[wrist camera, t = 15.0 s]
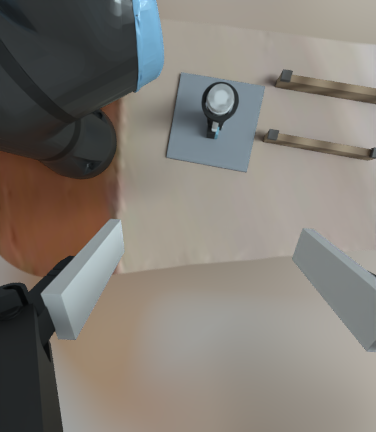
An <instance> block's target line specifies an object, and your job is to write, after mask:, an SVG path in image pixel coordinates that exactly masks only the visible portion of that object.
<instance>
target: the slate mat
mask: <svg viewBox="0 0 376 432" xmlns="http://www.w3.org/2000/svg"><path fill="white" fill-rule="evenodd" d="M215 82H226V83H229V84H231V85H232V86H233V87H234V88H235V89H236V91H237V93H238V96H239V104H238V108H237V110H236V112H235V113H234V115H233V116H232V117H231V118H229V119H227V120H226V121H225V122H224V124H223V128H222V130H221V131H220V130H219V133H218V137H217V139H211V138H206V136H207V129H208V125H207V117H206V116H205V114H204V112H203V109H202V105H201V101H202V95H203V93H204V91H205V90H206V88H207V87H208V86H210V85H211V84H213V83H215ZM264 90H265V86H260V85H254V84H248V83H242V82H236V81H230V80H224V79H218V78H212V77H206V76H200V75H194V74H188V73H182V72H181V78H180V83H179V89H178V95H177V100H176V106H175V111H174V117H173V123H172V128H171V134H170V140H169V145H168V151H167V158H171V159H177V160H182V161H188V162H193V163H198V164H204V165H209V166H215V167H220V168H225V169H231V170H236V171H242V172H247V168H248V163H249V159H250V154H251V150H252V145H253V140H254V136H255V131H256V126H257V122H258V117H259V113H260V108H261V103H262V99H263V94H264ZM206 107H207V102H206ZM232 108H233V106H232ZM232 108H231V109H230V111H231V110H232ZM230 111H229V112H230ZM206 126H207V128H206Z"/></svg>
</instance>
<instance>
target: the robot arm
mask: <svg viewBox="0 0 376 432" xmlns="http://www.w3.org/2000/svg"><path fill="white" fill-rule="evenodd" d="M163 64H164V45H163V36H162V30H161V24H160V18H159V13H158V8H157V3H156V0H0V151H4V152H8V153H12V154H16V155H20V156H24V157H28V158H32V159H36V160H39V161H40V162H42V163H43V164H44V165H46V166H47V167H49V168H50V169H52V170H53V171H55V172H56V173H58V174H60V175H63V176H66V177H70V178H75V179H88V178H92V177H94V176H97V175H99V174H100V173H102V172H103V171H104V170H105V169H106V168H107V167H108V166H109V164H110V163H111V161H112V159H113V157H114V154H115V151H116V143H117V141H116V133H115V129H114V127H113V124H112V122H111V121H110V119H109V118H108V116H107V115H106V114H105V113H104V112H103V111H102V110H101V109H100V108H102V107H104V106H106V105H108V104H110V103H112V102H113V101H115V100H117V99H119V98H121V97H123V96H125V95H127V94H129V93H131V92H134V93H136V92H138V91H139V90H140V88H141V87H142V86H144V85H146V84H148V83H149V82H151V81H153V80H154V79H156V78H157V77H158V76H159V75H160V73H161V70H162V68H163ZM124 252H125V251H124V243H123V234H122V225H121V220H119V219H110V220H109V221H108V222H107V223H106V224H105V225H104V226H103V227H102V228H101V229H100V230H99V232H98V233H97V234H96V235H95V236H94V237H93V238H92V239H91V240H90V241H89V242H88V243H87V244H86V246H85V247H84V248H83V249H82V250H81V251H80V252H79V253H78V254H77V255H76V256H68V257H67V258H65V259H63V260H62V261H60V262H59V263H58V264H57V265H56V266H55V267H54V268H53V270H51V271H50V272H49V273H48V274H47V276H45V277H44V278H43V279H42V280H40V281H39V282H38V283H37V284H36V285H35V286H34V287H33V289H31V290H30V291H29V292H28V290H27V287H26V286H25V284H23V283H10V284H6V285H3V286H0V432H63V426H62V419H61V412H60V406H59V399H58V392H57V384H56V378H55V371H54V364H53V358H52V350H51V344H50V341H49V339H50V337H51V336H52V335H53V333H54V332H56V334H57V337H58V339H67V340H76V338H77V337H78V335H79V333H80V331H81V329H82V328H83V326H84V324H85V322H86V320H87V319H88V317H89V315H90V313H91V311H92V310H93V308H94V306H95V304H96V302H97V300H98V298H99V297H100V295H101V293H102V291H103V289H104V288H105V286H106V284H107V282H108V280H109V279H110V277H111V275H112V273H113V272H114V270H115V268H116V266H117V264H118V262H119V261H120V259H121V257H122V255H123V253H124ZM292 260H293V261H294V263H295V264H296V265H297V266H298V267H299V269H300V270H301V271H302V272H303V273H304V275H305V276H306V277H307V279H308V280H309V281H310V282H311V283H312V285H313V286H314V287H315V288H316V290H317V291H318V292H319V293H320V294H321V296H322V297H323V298H324V299H325V301H326V302H327V303H328V304H329V305H330V307H331V308H332V309H333V311H334V312H335V313H336V314H337V315H338V317H339V318H340V319H341V320H342V322H343V323H344V324H345V325H346V326H347V328H348V329H349V330H350V331H351V333H352V334H353V335H354V336H355V338H356V339H357V340H358V341H359V343H360V344H361V345H362V346H363V347H364V349H365V350H366V351H368V352H376V275H375V274H373V273H371V272H369V271H367V270H366V269H364V268H363V267H362V266H360V265H359V264H358V263H357V262H355V261H354V260H353V259H351V258H350V257H349V256H348V255H346V254H345V253H344V252H342V251H341V250H340V249H339V248H337V247H336V246H335V245H333V244H332V243H331V242H330V241H328V240H327V239H326V238H324V237H323V236H322V235H320V234H319V233H318V232H317V231H315V230H314V229H305V228H303V229H302V232H301V235H300V238H299V240H298V243H297V246H296V249H295V252H294V255H293V257H292Z"/></svg>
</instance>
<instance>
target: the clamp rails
mask: <svg viewBox="0 0 376 432" xmlns="http://www.w3.org/2000/svg"><path fill="white" fill-rule="evenodd" d="M292 72H293V71H291V70H284V69H283V71H282V73H281V75H280V76H279V78H278V79H277V82H276V86H275V87H278V88H284V89H290V90H296V91H302V92H308V93H314V94H320V95H326V96H332V97H338V98H344V99H350V100H356V101H361V102H367V103H373V104H376V88H370V87H364V86H358V85H352V84H346V83H340V82H334V81H327V80H321V79H315V78H309V77H303V76H297V75H292ZM263 142H267V143H273V144H279V145H284V146H290V147H295V148H301V149H307V150H312V151H318V152H323V153H329V154H335V155H340V156H346V157H351V158H357V159H363V160H372V159H376V148H375V147H374V148H371V149H365V148H359V147H354V146H348V145H342V144H337V143H331V142H325V141H320V140H314V139H308V138H303V137H297V136H291V135H286V134H280V133H279V131H278V130H273V129H270V130H269V132H268V133H267V134H266V135H265V136H264V140H263Z"/></svg>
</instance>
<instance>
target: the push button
mask: <svg viewBox="0 0 376 432" xmlns="http://www.w3.org/2000/svg"><path fill="white" fill-rule="evenodd" d="M206 102H207V107H206ZM238 104H239V96H238V93H237V91H236V89H235V88H234V87H233V86H232V85H231V84H229V83H226V82H215V83H213V84H211V85H210V86H208V87H207V88H206V90H205V91H204V93H203V95H202V101H201V105H202V109H203V112H204V114H205V116H206V117H207V125H208V129H207V136H206V138H211V139H217V137H218V133H219V130H220V131H221V130H222V128H223V124H224V122H225V121H226V120H227V119H229V118H231V117H232V116H233V115H234V113H235V112H236V110H237V108H238ZM232 106H233V108H232ZM231 108H232V110H231V111H230V109H231ZM229 111H230V112H229ZM206 128H207V126H206Z"/></svg>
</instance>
